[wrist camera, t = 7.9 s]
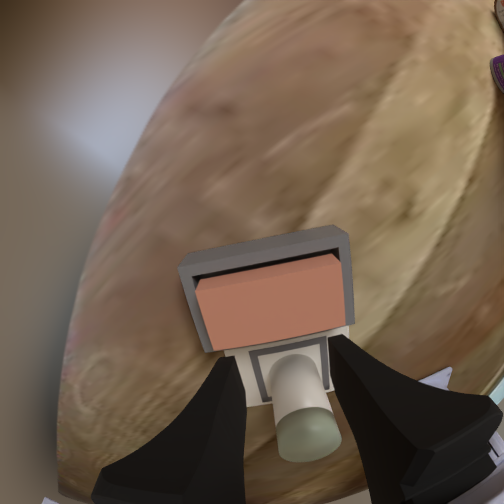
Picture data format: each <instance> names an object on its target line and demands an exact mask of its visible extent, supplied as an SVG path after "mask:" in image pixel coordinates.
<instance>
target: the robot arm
mask: <svg viewBox="0 0 504 504" xmlns="http://www.w3.org/2000/svg"><path fill="white" fill-rule="evenodd" d="M328 351H329V367H330V377H331V380H332V383H333V387H334V390H335V393H336V396H337V398H338V401H339V403H340V405H341V407H342V410H343V412H344V414H345V416H346V419H347V421H348V423H349V425H350V428H351V430H352V432H353V435H354V437H355V440H356V443H357V446H358V449H359V453H360V456H361V460H362V463H363V467H364V471H365V475H366V479H367V483H368V488H369V492H370V497H371V502H372V504H504V441H503V440H502V438H501V437H500V436H499V434H498V433H497V432H496V430H497V428H498V426H499V425H500V423H501V421H502V417H503V413H502V411H501V410H500V409H499V407H498V406H497V405H496V404H495V403H494V402H493V400H492V399H491V398H490V397H489V396H485V395H474V394H464V393H458V392H453V391H449V390H448V388H447V385H448V382H449V379H450V375H451V372H452V368H451V367H447V368H445V369H443V370H441V371H439V372H437V373H435V374H433V375H431V376H428V377H426V378H424V379H422V380H419V381H416V380H414V379H412V378H409V377H407V376H405V375H403V374H401V373H399V372H397V371H395V370H393V369H391V368H390V367H388V366H386V365H385V364H383V363H381V362H380V361H378V360H377V359H375V358H374V357H372V356H371V355H370V354H368V353H367V352H365V351H364V350H363V349H361V348H360V347H359V346H357V345H356V344H355V343H353V342H352V341H351V340H350V339H348V338H347V337H346V336H345V335H343V334H340V335H336V336H332V337H328ZM246 416H247V407H246V391H245V388H244V385H243V382H242V378H241V375H240V372H239V369H238V366H237V362H236V359H235V356H228V357H220V358H219V359H218V360H217V362H216V364H215V365H214V367H213V368H212V370H211V372H210V373H209V375H208V377H207V378H206V380H205V381H204V383H203V384H202V386H201V387H200V389H199V390H198V391H197V393H196V394H195V396H194V397H193V398H192V399H191V401H190V402H189V403H188V405H187V406H186V407H185V408H184V410H183V411H182V412H181V413H180V414H179V415H178V416H177V417H176V418H175V419H174V420H173V421H172V422H171V423H170V424H169V425H168V426H167V427H166V428H165V429H164V430H163V431H161V432H160V433H159V434H158V435H157V436H155V437H154V438H153V439H152V440H151V441H149V442H148V443H146V444H145V445H144V446H142V447H141V448H139V449H138V450H136V451H134V452H133V453H131V454H130V455H128V456H126V457H124V458H122V459H120V460H118V461H116V462H114V463H112V464H110V465H108V466H106V467H104V468H102V469H101V472H100V474H99V476H98V479H97V481H96V484H95V487H94V489H93V492H92V494H91V499H92V500H93V502H94V503H95V504H246V501H245V487H244V469H243V456H244V443H245V430H246ZM42 504H60V503H58V502H56V501H54V500H52V499H50V498H48V497H45V498H44V500H43V502H42Z"/></svg>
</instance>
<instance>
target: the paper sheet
mask: <svg viewBox="0 0 504 504" xmlns="http://www.w3.org/2000/svg"><path fill="white" fill-rule="evenodd" d="M340 334H343V335H345V336H346V337H347V338H348V339H349V325H348V326H344V327H340V328H336V329H332V330H328V331H324V332H319V333H315V334H311V335H306V336H301V337H297V338H292V339H287V340H282V341H277V342H271V343H266V344H260V345H255V346H249V347H242V348H236V349H229V350H224V353H225V357H228V356H235V359H236V362H237V366H238V369H239V372H240V375H241V378H242V382H243V385H244V388H245V391H246V407H251V406H259V405H265V404H272V403H273V402H272V394H271V386H270V378H269V371H270V369H271V367H272V365H273V364H274V363H275V362H276V361H277V360H279V359H280V358H282V357H284V356H287V355H291V354H302V355H306V356H308V357H310V358H311V359H312V360H313V361H314V362H315V364H316V367H317V370H318V372H319V375H320V378H321V381H322V383H323V386H324V389H325V392H330V391H334V387H333V383H332V380H331V377H330V367H329V351H328V337H332V336H336V335H340Z"/></svg>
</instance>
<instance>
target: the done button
mask: <svg viewBox="0 0 504 504" xmlns="http://www.w3.org/2000/svg"><path fill="white" fill-rule="evenodd" d="M195 293H196V297H197V300H198V303H199V306H200V310H201V313H202V316H203V319H204V322H205V325H206V329H207V332H208V335H209V338H210V341H211V344H212V347H213V350H214V351H216V350H223V349H230V348H236V347H243V346H249V345H255V344H261V343H266V342H272V341H277V340H282V339H287V338H292V337H297V336H302V335H306V334H311V333H315V332H320V331H324V330H328V329H332V328H336V327H340V326H344V325H346V323H345V305H344V291H343V279H342V268H341V262H340V261H339V260H338V259H337V258H336V257H335V256H334V255H333V254H327V255H322V256H317V257H313V258H308V259H303V260H298V261H293V262H288V263H283V264H278V265H273V266H268V267H263V268H258V269H253V270H248V271H242V272H237V273H232V274H227V275H222V276H216V277H211V278H206V279H200V281H199V284H198V286H197V288H196V290H195Z"/></svg>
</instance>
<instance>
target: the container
mask: <svg viewBox="0 0 504 504" xmlns="http://www.w3.org/2000/svg"><path fill="white" fill-rule="evenodd" d="M490 68H491V72H492V75H493V78H494V80H495V82H496V84H497V86H498V87H499V89H500V90H501V91H502V92H503V93H504V55H501V56H498V57H495V58H492V59H491V60H490Z"/></svg>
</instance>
